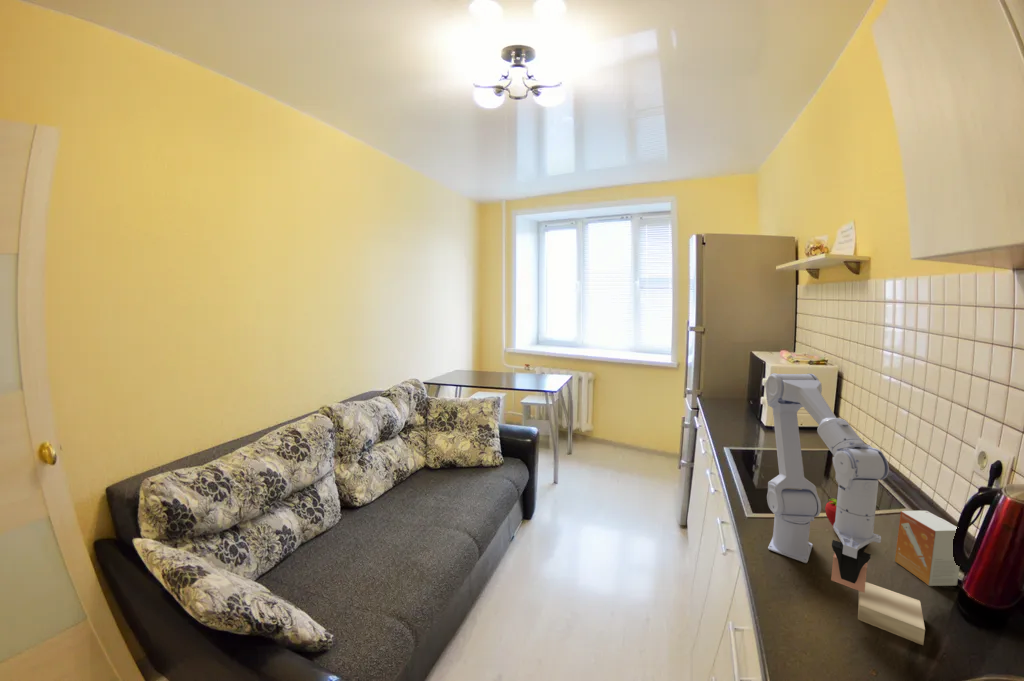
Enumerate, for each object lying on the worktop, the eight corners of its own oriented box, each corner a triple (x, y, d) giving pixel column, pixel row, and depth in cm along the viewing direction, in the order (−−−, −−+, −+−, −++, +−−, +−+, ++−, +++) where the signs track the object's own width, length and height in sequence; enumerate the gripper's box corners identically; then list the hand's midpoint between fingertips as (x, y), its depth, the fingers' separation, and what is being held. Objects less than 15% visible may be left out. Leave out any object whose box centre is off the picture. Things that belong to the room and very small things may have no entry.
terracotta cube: (833, 567, 83) (835, 545, 83) (865, 579, 80) (868, 555, 79) (831, 580, 80) (833, 556, 79) (864, 592, 76) (866, 568, 76)
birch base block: (858, 594, 85) (859, 579, 85) (918, 616, 79) (920, 600, 79) (857, 621, 79) (859, 604, 78) (923, 647, 73) (925, 629, 72)
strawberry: (853, 528, 108) (856, 493, 107) (849, 541, 103) (853, 504, 102) (826, 520, 112) (829, 486, 111) (821, 531, 107) (824, 496, 106)
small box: (893, 561, 95) (899, 510, 93) (920, 561, 95) (926, 509, 93) (928, 586, 87) (935, 530, 85) (958, 586, 87) (965, 530, 85)
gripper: (882, 533, 70) (874, 604, 72) (884, 501, 80) (877, 563, 82) (831, 518, 75) (825, 584, 76) (839, 489, 85) (833, 548, 87)
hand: (849, 572), depth 80 cm, fingers closed on terracotta cube, 5 cm apart
